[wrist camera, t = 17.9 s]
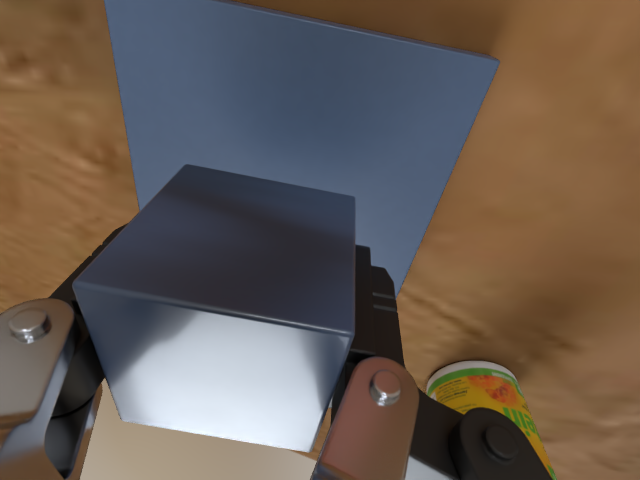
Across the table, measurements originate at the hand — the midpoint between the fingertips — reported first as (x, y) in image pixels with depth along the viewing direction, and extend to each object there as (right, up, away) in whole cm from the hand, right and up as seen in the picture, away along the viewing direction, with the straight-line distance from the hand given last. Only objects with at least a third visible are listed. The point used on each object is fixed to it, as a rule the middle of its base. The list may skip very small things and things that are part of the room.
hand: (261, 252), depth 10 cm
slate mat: (0, +3, +4) cm, 5 cm away
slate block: (0, 0, 0) cm, 0 cm away
